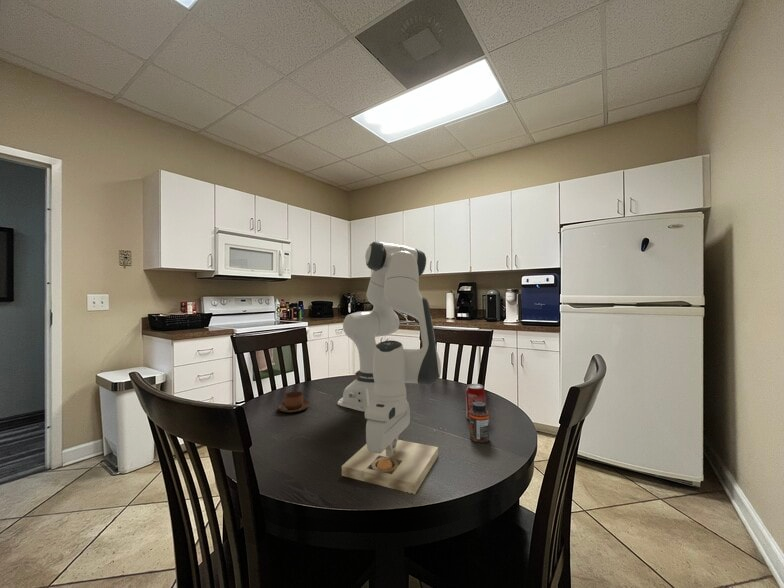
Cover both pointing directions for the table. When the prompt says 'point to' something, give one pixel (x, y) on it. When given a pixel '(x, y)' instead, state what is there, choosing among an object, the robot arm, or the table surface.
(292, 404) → the cup and saucer
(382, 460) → the ball
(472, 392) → the soda can
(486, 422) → the supplement bottle
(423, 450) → the light wooden flat slab
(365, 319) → the robot arm
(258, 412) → the table surface
